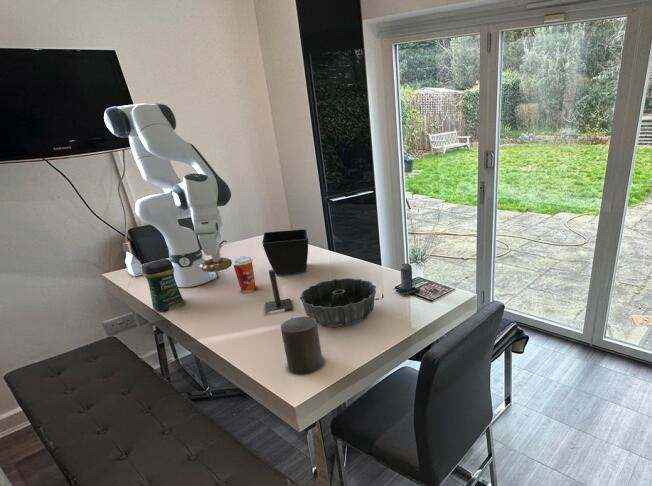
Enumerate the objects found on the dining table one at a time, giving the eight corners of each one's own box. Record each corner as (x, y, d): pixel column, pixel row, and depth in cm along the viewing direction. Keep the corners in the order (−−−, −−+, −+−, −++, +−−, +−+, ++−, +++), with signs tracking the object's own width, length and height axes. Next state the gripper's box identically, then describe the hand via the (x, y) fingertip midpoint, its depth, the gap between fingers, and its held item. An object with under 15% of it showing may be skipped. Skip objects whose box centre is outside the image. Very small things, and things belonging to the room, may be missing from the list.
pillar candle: (299, 378, 114) (290, 331, 108) (282, 365, 120) (273, 320, 114) (329, 363, 120) (322, 318, 114) (311, 351, 126) (304, 308, 120)
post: (266, 305, 157) (258, 268, 151) (290, 301, 161) (283, 264, 155) (266, 314, 150) (258, 276, 144) (292, 310, 153) (285, 272, 147)
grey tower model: (407, 287, 172) (405, 260, 167) (421, 291, 168) (420, 264, 163) (392, 294, 165) (390, 266, 160) (407, 299, 161) (405, 270, 156)
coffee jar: (161, 313, 152) (146, 266, 144) (150, 308, 156) (135, 263, 148) (187, 303, 159) (174, 259, 152) (177, 299, 163) (163, 255, 156)
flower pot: (311, 260, 204) (306, 228, 197) (313, 273, 187) (308, 238, 181) (270, 265, 198) (263, 232, 191) (269, 279, 181) (262, 243, 175)
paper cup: (251, 294, 167) (243, 262, 161) (234, 293, 168) (226, 261, 162) (262, 287, 174) (256, 256, 168) (246, 285, 175) (239, 255, 169)
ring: (202, 264, 148) (201, 258, 147) (233, 261, 151) (231, 255, 150) (199, 274, 139) (197, 268, 138) (231, 270, 143) (229, 264, 142)
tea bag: (134, 276, 187) (127, 255, 183) (129, 273, 190) (122, 253, 186) (144, 274, 189) (137, 253, 185) (138, 271, 193) (131, 250, 189)
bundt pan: (318, 300, 161) (314, 277, 157) (384, 300, 160) (382, 277, 156) (292, 334, 137) (287, 307, 133) (370, 334, 136) (367, 307, 132)
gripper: (201, 216, 150) (210, 252, 155) (193, 230, 133) (203, 270, 138) (220, 214, 152) (228, 249, 158) (214, 228, 135) (224, 267, 140)
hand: (216, 259), depth 148 cm, fingers closed on ring, 2 cm apart
